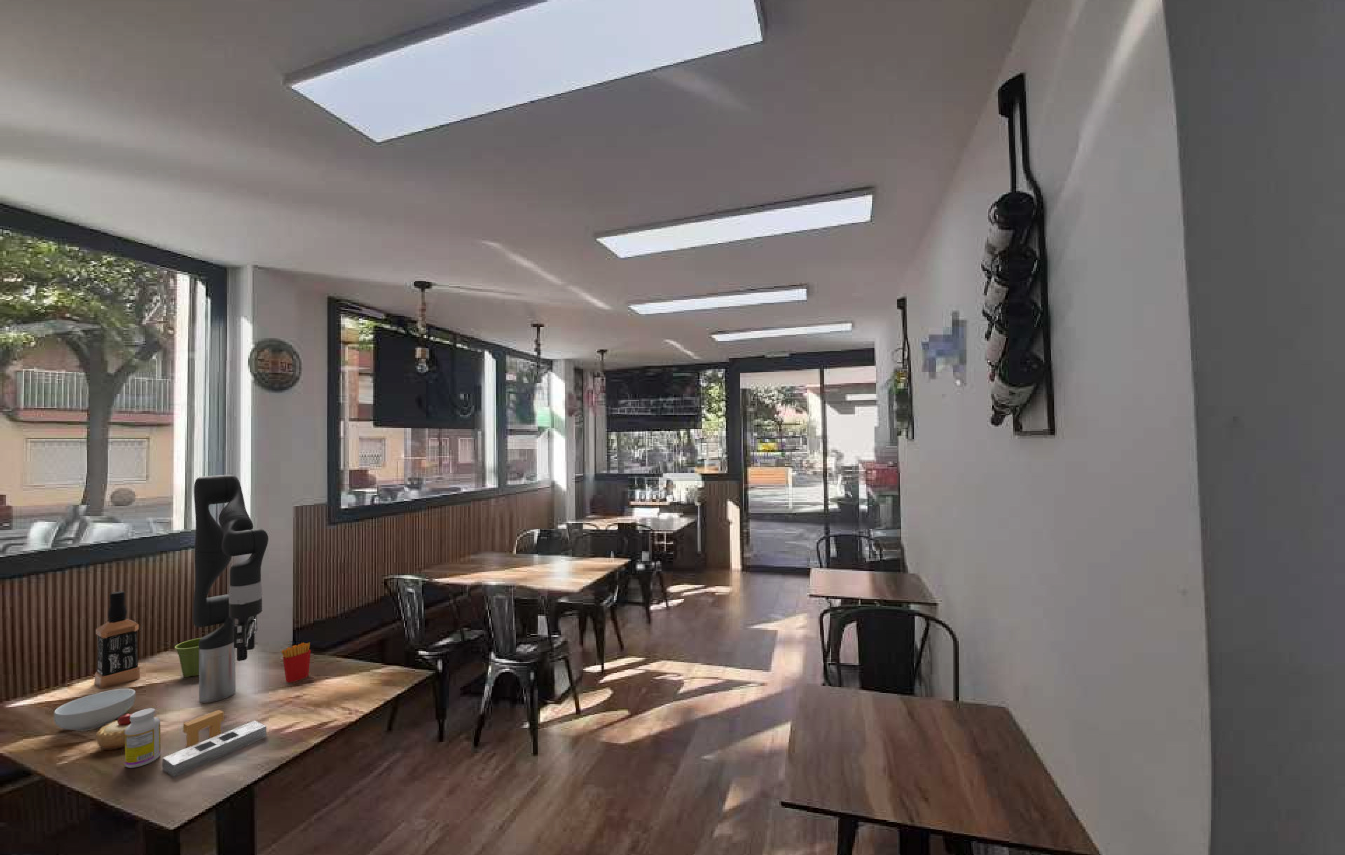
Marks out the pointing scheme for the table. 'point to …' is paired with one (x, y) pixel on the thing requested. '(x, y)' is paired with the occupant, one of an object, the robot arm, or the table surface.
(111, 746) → the pastry
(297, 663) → the french fries
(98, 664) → the whiskey bottle
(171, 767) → the rail
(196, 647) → the plant pot
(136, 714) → the supplement bottle
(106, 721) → the cereal bowl
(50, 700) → the table surface
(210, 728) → the ochre wooden block
